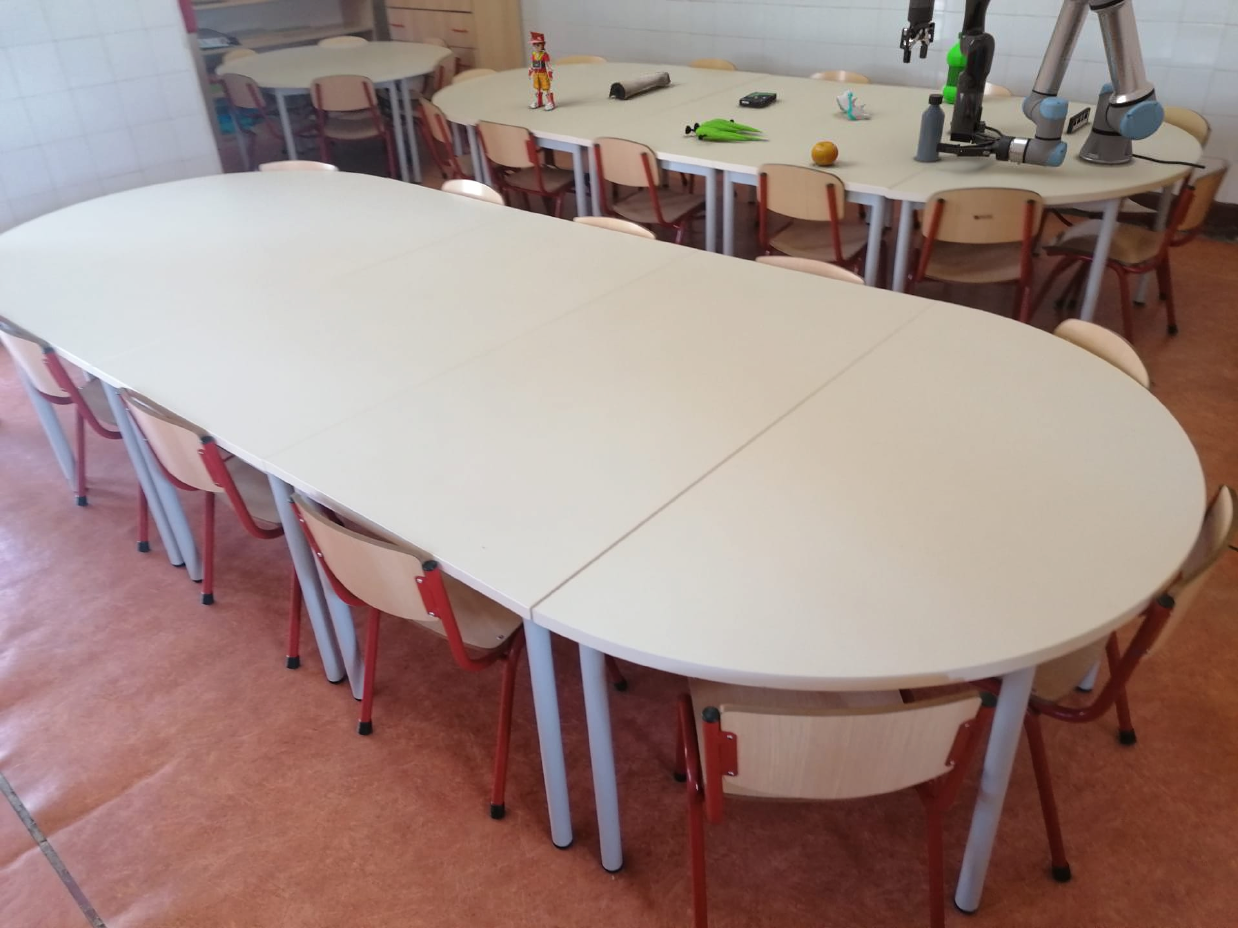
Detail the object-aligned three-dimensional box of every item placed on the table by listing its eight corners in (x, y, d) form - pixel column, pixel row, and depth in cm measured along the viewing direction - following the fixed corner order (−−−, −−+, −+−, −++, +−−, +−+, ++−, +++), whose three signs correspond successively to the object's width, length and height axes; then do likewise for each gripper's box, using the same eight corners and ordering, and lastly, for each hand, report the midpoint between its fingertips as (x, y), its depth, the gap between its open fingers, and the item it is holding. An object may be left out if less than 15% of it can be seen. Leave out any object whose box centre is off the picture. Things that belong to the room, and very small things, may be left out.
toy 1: (525, 109, 381) (517, 32, 364) (534, 104, 388) (527, 28, 371) (550, 110, 377) (543, 32, 360) (559, 105, 384) (553, 28, 367)
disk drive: (762, 109, 362) (776, 100, 372) (762, 101, 360) (777, 93, 370) (738, 106, 367) (753, 98, 377) (738, 99, 365) (754, 91, 375)
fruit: (804, 156, 294) (819, 134, 291) (809, 158, 302) (823, 137, 299) (825, 170, 293) (840, 148, 290) (829, 172, 300) (844, 151, 297)
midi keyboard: (1070, 133, 311) (1073, 118, 308) (1066, 133, 312) (1069, 118, 309) (1087, 122, 322) (1091, 107, 319) (1084, 121, 322) (1087, 107, 319)
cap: (938, 105, 284) (939, 97, 283) (925, 104, 287) (927, 96, 285) (944, 103, 287) (945, 94, 285) (932, 101, 289) (933, 93, 288)
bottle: (931, 163, 293) (941, 100, 281) (912, 160, 297) (920, 97, 286) (942, 158, 297) (951, 95, 285) (922, 154, 301) (931, 93, 290)
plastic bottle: (973, 101, 354) (984, 32, 339) (955, 106, 349) (966, 36, 335) (952, 97, 361) (962, 29, 346) (934, 102, 356) (944, 33, 342)
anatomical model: (831, 89, 347) (857, 82, 346) (834, 116, 353) (859, 109, 352) (842, 98, 335) (869, 91, 334) (845, 126, 341) (871, 118, 340)
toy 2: (674, 138, 327) (749, 153, 315) (675, 124, 324) (751, 138, 312) (709, 126, 347) (780, 139, 335) (710, 112, 345) (782, 125, 332)
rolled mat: (651, 76, 408) (662, 61, 399) (662, 93, 408) (674, 79, 400) (605, 92, 391) (616, 77, 383) (617, 110, 391) (628, 95, 383)
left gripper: (925, 0, 284) (918, 55, 294) (897, 7, 277) (891, 63, 287) (945, 2, 279) (937, 58, 289) (918, 9, 272) (910, 66, 282)
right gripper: (997, 172, 273) (929, 164, 284) (1020, 151, 290) (954, 143, 300) (1002, 147, 269) (932, 139, 280) (1025, 127, 285) (958, 120, 296)
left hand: (914, 60), depth 288 cm, fingers open, 8 cm apart
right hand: (943, 141), depth 290 cm, fingers open, 13 cm apart
